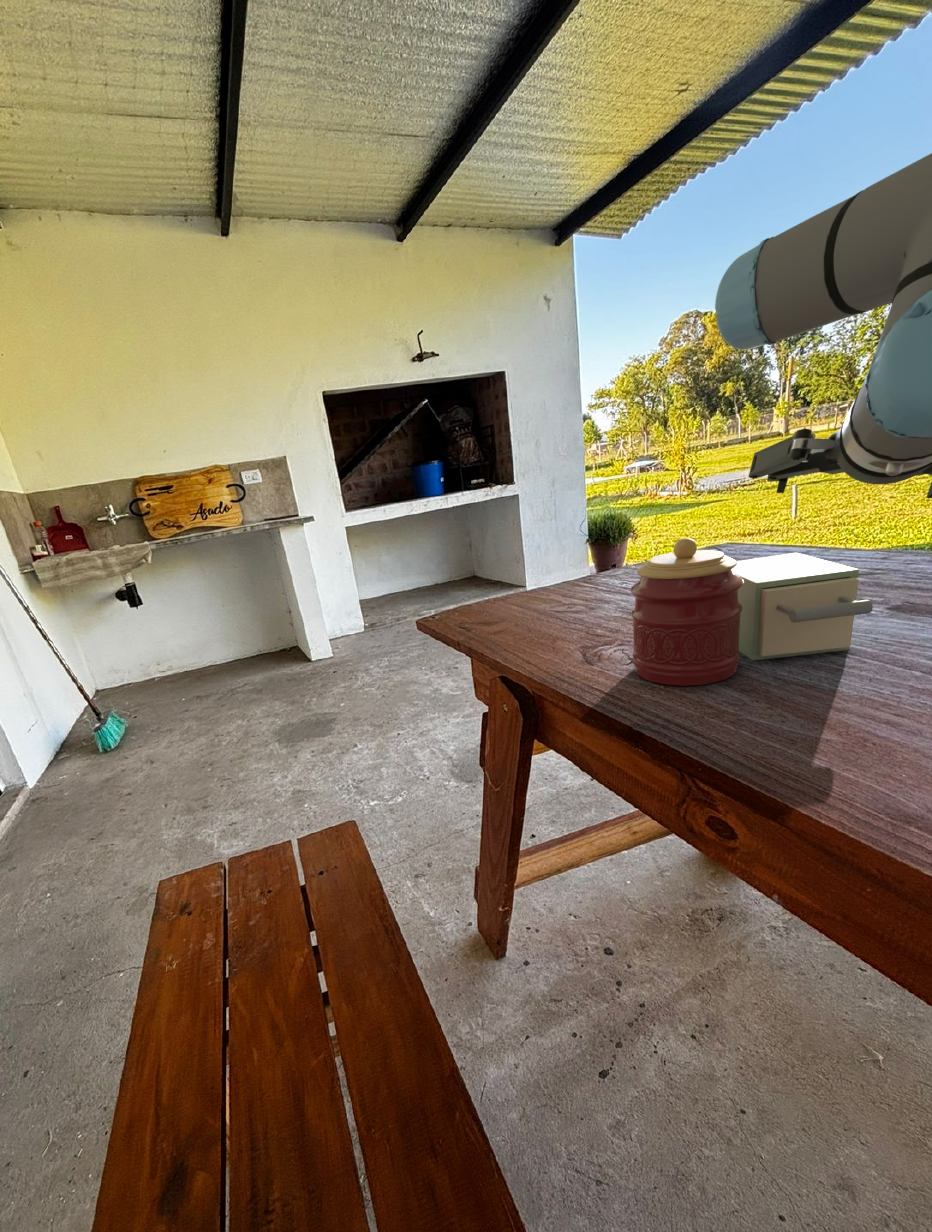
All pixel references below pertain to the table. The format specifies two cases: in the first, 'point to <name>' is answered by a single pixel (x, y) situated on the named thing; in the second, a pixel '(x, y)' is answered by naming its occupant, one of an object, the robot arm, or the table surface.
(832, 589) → the sliding drawer
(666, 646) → the kitchen canister
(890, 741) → the table surface
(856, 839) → the table surface
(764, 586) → the small drawer unit
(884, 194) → the robot arm
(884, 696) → the table surface
